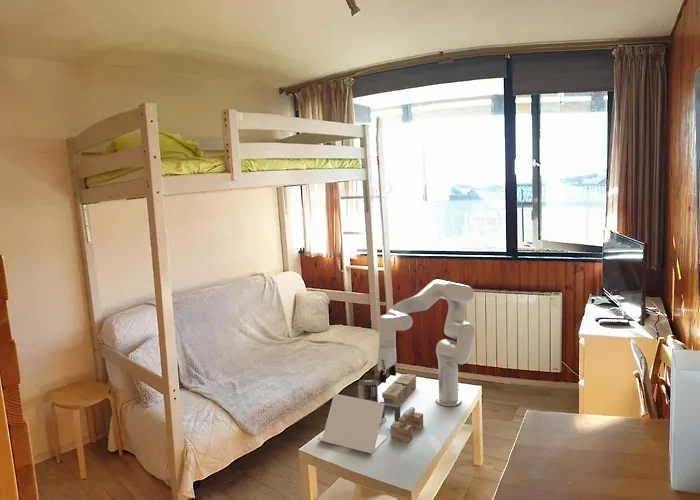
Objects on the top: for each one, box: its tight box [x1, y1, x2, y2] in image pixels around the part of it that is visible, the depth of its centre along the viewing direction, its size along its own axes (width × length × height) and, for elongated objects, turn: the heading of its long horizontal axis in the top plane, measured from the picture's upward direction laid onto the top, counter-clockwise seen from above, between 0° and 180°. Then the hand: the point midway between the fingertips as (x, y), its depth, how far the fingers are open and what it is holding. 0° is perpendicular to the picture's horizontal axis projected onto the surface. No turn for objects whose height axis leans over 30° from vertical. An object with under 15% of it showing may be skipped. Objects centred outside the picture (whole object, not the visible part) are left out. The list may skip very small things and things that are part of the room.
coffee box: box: [357, 379, 379, 402], centre depth 250 cm, size 9×6×16 cm
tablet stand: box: [317, 393, 388, 454], centre depth 225 cm, size 18×25×17 cm
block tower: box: [381, 373, 417, 407], centre depth 268 cm, size 8×8×29 cm
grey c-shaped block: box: [379, 401, 401, 424], centre depth 241 cm, size 4×11×9 cm, turn 59°
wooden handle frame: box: [390, 406, 424, 444], centre depth 231 cm, size 17×8×10 cm, turn 149°
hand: (387, 378), depth 239 cm, fingers open, 9 cm apart
